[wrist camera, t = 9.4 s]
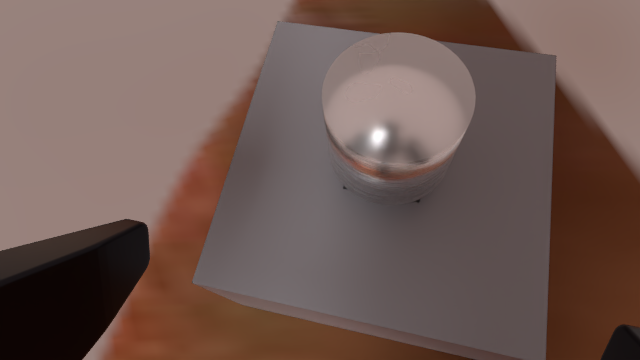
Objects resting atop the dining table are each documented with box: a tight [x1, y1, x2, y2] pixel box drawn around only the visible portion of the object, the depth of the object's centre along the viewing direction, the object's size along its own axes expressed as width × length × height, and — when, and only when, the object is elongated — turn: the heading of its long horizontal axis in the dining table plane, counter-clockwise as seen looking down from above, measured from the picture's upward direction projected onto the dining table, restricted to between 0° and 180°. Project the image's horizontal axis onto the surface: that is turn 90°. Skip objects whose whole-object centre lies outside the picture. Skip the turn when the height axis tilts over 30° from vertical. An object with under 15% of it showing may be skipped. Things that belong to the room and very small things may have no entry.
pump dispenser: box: [192, 21, 556, 360], centre depth 17 cm, size 10×10×6 cm
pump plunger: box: [322, 32, 476, 205], centre depth 14 cm, size 4×4×9 cm
